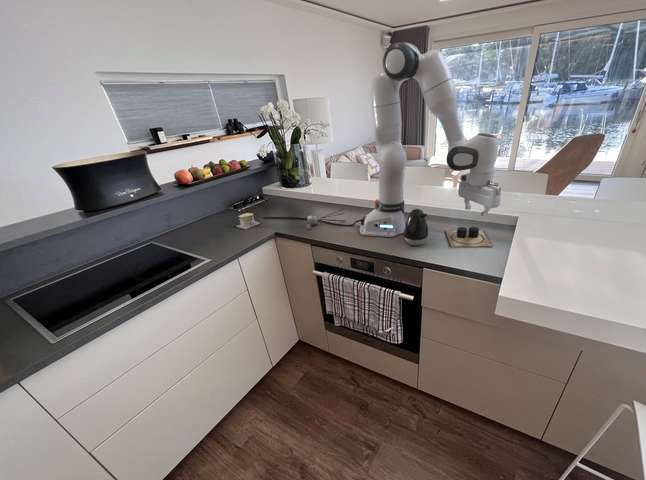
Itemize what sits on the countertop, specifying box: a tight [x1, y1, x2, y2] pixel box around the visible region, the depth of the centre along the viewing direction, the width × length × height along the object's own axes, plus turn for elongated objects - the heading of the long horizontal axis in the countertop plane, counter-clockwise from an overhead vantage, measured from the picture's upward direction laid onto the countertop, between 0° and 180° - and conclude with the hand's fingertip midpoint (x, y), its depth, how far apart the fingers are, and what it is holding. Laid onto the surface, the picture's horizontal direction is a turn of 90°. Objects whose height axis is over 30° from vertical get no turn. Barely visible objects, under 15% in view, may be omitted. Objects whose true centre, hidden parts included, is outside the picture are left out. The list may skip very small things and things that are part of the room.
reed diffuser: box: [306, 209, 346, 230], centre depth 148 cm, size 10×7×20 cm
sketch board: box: [445, 229, 492, 248], centre depth 123 cm, size 16×16×1 cm
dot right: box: [468, 226, 480, 238], centre depth 123 cm, size 4×4×4 cm
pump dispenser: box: [403, 208, 429, 246], centre depth 120 cm, size 10×10×15 cm
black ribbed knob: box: [456, 226, 468, 238], centre depth 124 cm, size 4×4×4 cm
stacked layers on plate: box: [236, 212, 261, 230], centre depth 154 cm, size 10×9×6 cm
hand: (475, 212), depth 119 cm, fingers open, 8 cm apart
